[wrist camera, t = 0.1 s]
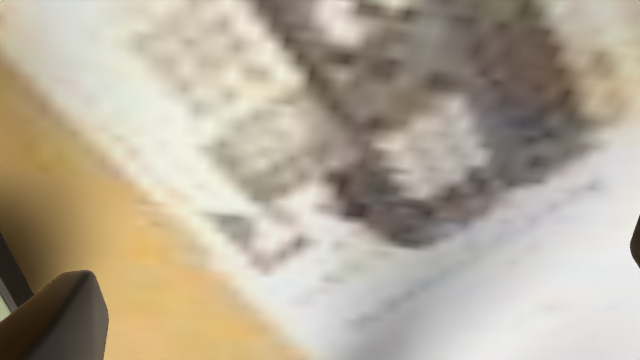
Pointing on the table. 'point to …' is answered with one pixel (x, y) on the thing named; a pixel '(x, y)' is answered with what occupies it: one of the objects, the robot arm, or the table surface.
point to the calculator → (11, 283)
